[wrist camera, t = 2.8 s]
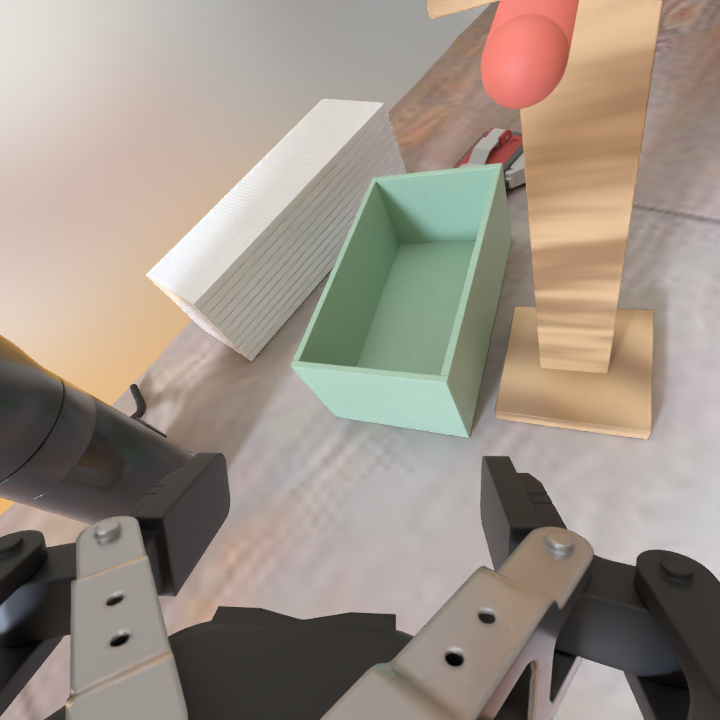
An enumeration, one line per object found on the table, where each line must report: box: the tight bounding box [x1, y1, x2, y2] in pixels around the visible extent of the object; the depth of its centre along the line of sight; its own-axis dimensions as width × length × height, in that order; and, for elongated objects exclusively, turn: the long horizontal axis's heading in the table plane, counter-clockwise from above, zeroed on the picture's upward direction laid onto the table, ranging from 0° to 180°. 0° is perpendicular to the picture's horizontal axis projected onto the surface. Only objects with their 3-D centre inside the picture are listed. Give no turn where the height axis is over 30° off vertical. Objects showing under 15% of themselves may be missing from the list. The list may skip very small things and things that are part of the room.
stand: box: [426, 0, 663, 439], centre depth 26 cm, size 12×11×33 cm
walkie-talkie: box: [452, 128, 526, 189], centre depth 53 cm, size 9×4×20 cm
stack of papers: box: [146, 99, 407, 361], centre depth 56 cm, size 32×11×11 cm, turn 140°
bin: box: [291, 163, 512, 438], centre depth 43 cm, size 23×13×10 cm, turn 161°
